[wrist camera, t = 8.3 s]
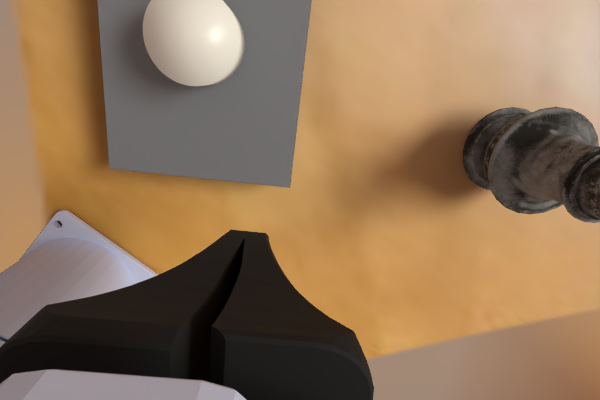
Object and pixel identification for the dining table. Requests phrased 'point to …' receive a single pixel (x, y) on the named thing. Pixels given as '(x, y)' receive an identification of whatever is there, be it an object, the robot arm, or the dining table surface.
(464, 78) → the dining table surface
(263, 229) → the dining table surface
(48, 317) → the robot arm
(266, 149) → the control board
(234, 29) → the knob
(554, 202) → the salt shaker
